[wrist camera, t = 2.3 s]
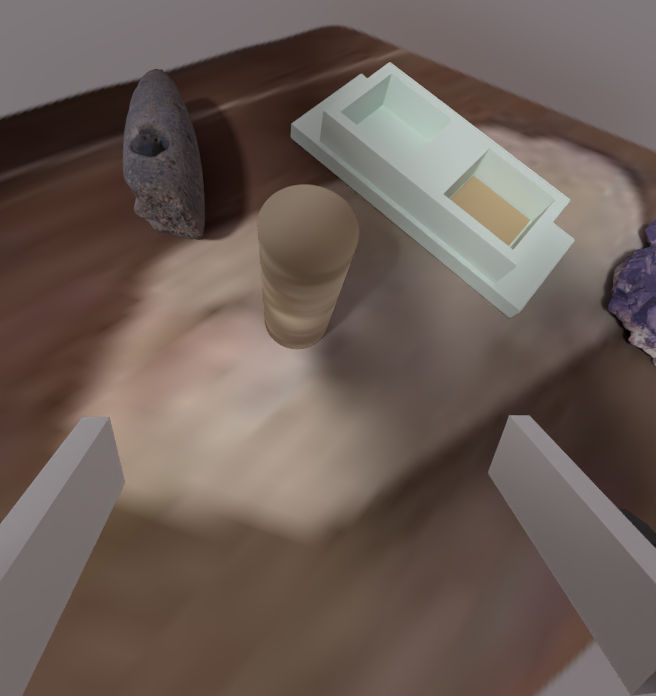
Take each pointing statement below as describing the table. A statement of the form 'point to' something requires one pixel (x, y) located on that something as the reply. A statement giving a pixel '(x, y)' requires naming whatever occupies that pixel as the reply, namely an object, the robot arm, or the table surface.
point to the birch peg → (304, 260)
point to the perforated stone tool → (164, 158)
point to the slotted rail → (440, 183)
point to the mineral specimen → (638, 295)
